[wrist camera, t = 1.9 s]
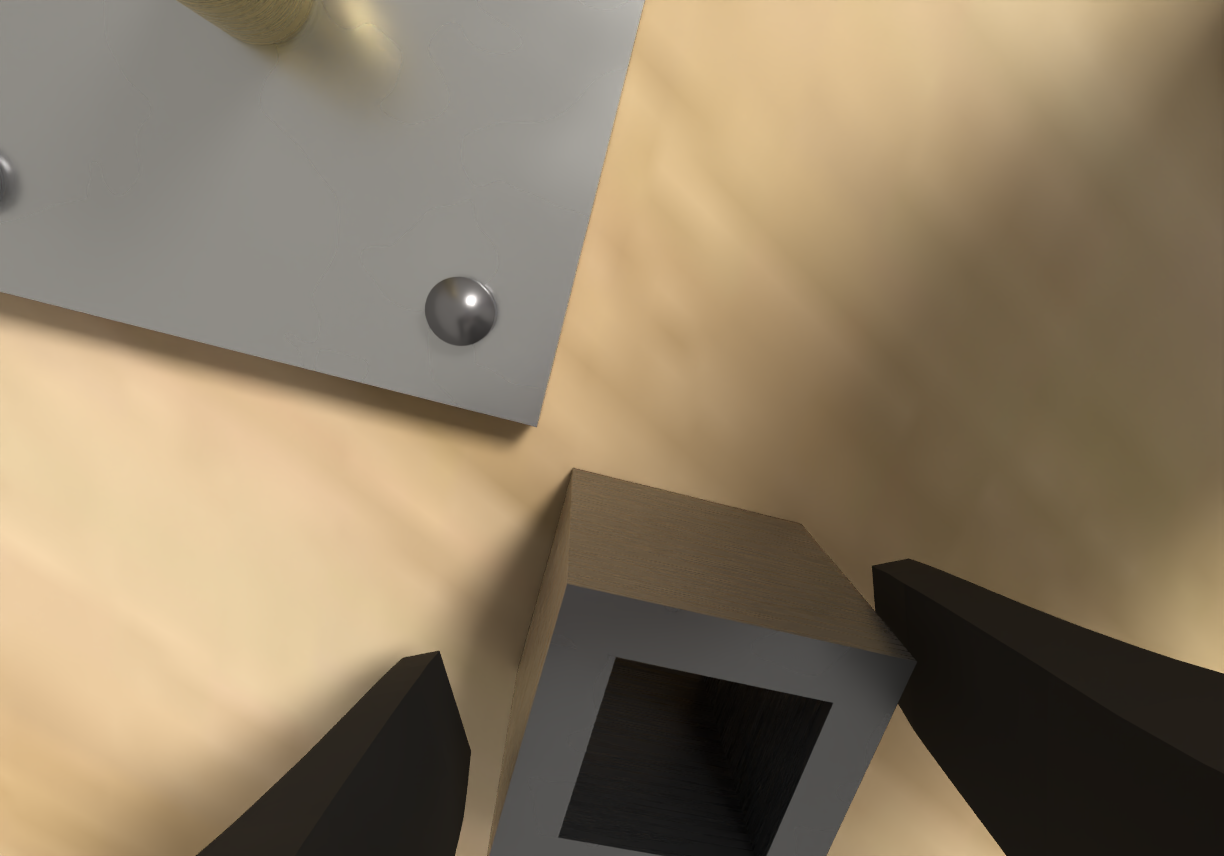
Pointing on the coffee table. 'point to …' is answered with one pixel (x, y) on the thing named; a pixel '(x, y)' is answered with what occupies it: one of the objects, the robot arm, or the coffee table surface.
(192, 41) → the anchor plate
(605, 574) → the hollow square tube
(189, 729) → the coffee table surface
